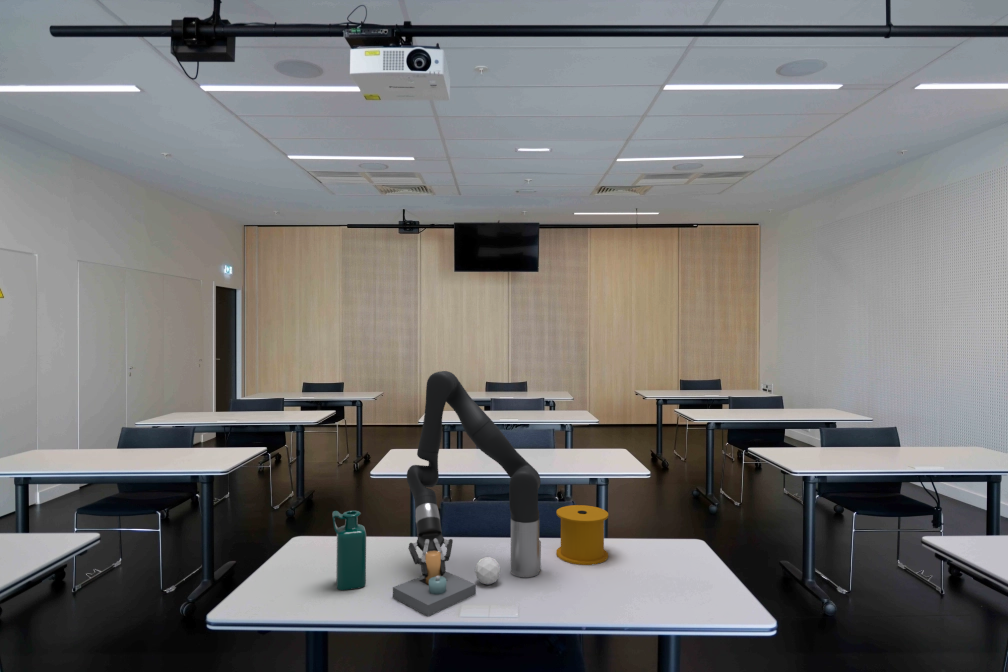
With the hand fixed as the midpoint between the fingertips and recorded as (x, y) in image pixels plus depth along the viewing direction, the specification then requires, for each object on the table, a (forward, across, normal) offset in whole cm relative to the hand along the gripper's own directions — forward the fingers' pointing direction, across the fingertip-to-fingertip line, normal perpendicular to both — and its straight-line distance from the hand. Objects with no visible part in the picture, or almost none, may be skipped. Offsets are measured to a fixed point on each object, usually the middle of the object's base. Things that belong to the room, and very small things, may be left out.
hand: (434, 575), depth 163 cm
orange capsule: (+2, 0, +4) cm, 5 cm away
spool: (-7, +55, +14) cm, 57 cm away
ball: (+2, +17, +6) cm, 18 cm away
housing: (+5, 0, +2) cm, 6 cm away
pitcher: (-6, -24, +13) cm, 28 cm away
